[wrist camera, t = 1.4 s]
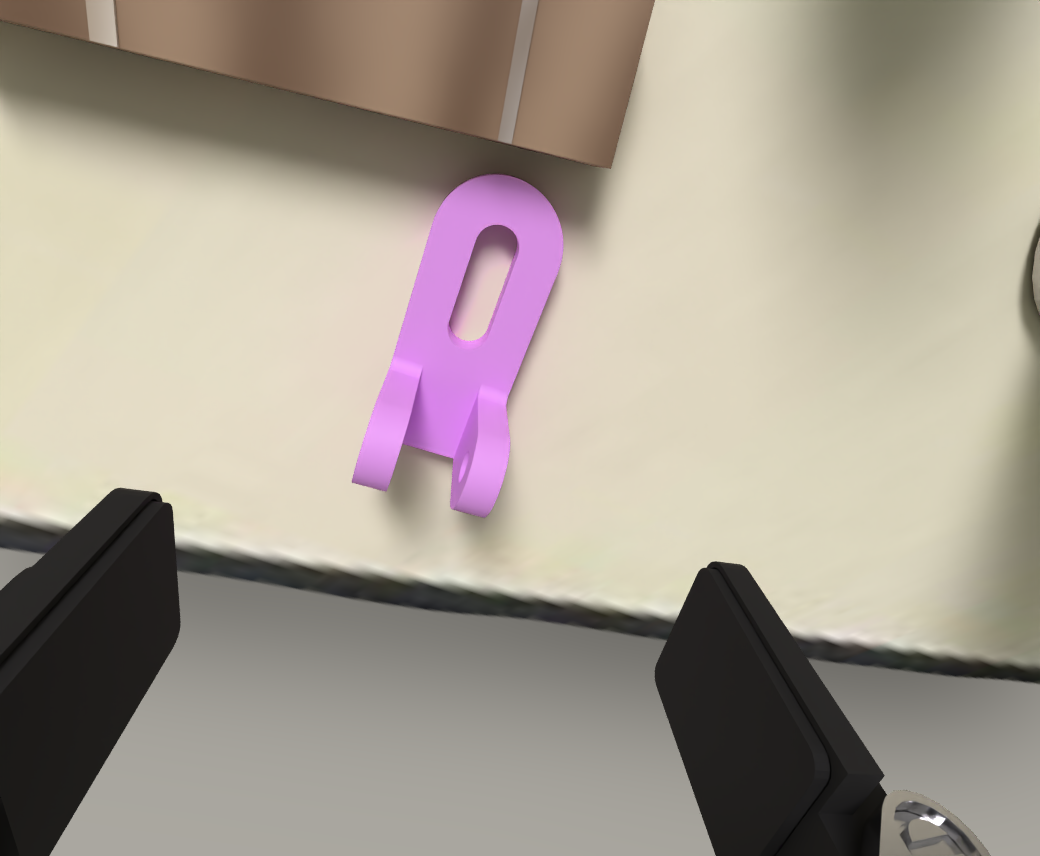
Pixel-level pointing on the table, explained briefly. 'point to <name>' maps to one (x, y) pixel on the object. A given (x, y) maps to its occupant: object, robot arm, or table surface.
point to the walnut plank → (399, 57)
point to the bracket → (464, 344)
